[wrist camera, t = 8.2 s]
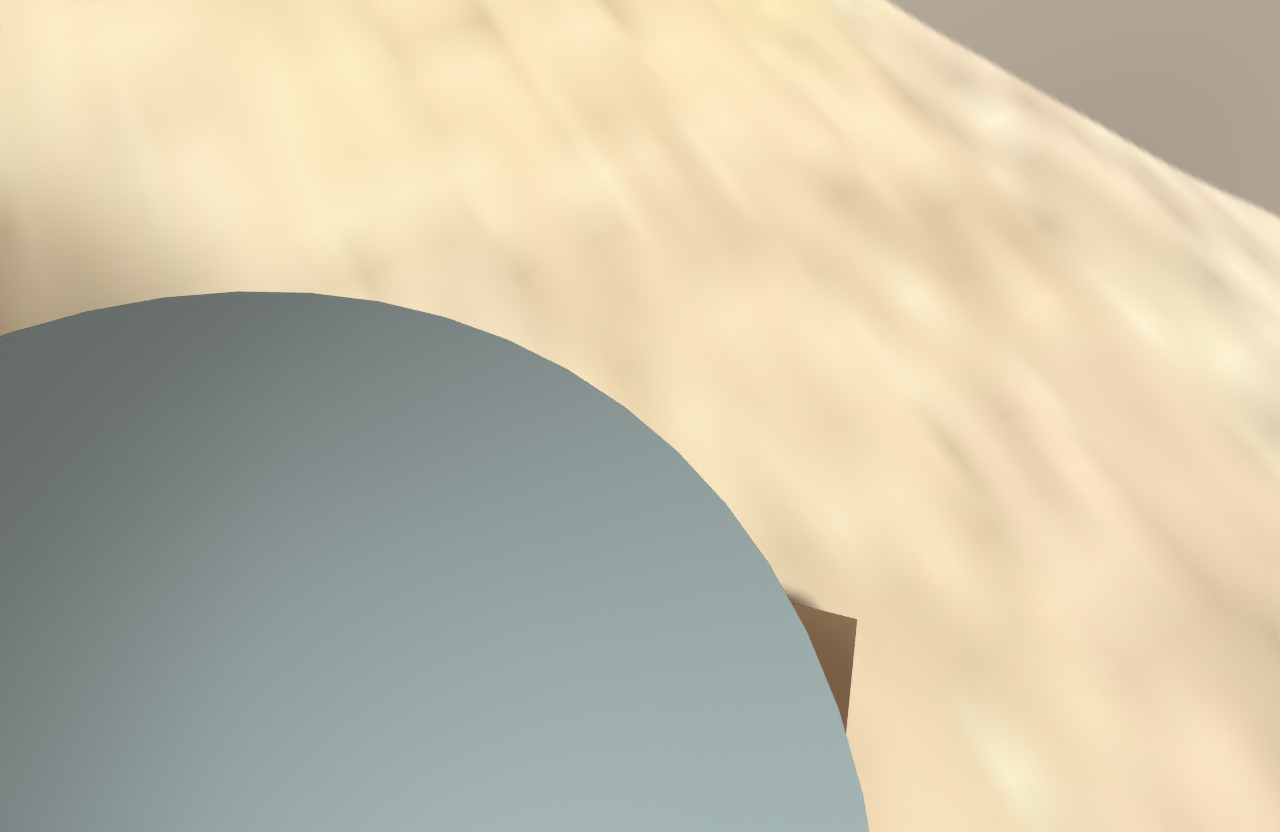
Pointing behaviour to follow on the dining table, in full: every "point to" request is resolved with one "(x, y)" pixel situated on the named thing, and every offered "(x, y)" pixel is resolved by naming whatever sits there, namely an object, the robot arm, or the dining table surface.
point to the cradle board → (832, 650)
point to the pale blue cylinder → (377, 591)
